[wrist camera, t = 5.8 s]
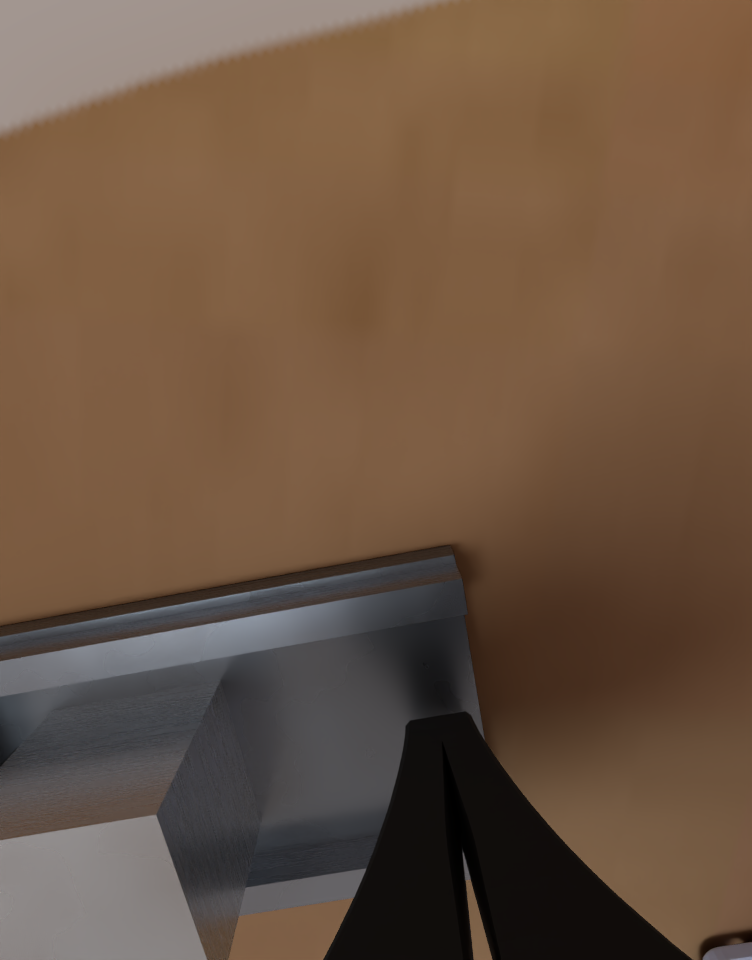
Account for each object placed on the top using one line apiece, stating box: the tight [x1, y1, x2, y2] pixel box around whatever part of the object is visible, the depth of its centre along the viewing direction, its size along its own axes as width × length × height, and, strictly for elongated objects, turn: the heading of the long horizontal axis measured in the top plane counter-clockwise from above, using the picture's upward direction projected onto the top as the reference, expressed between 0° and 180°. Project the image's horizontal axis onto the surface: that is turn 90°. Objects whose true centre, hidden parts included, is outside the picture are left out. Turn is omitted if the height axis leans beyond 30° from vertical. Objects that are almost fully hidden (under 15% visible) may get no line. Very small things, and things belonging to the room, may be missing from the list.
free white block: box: [0, 681, 262, 960], centre depth 10 cm, size 5×4×4 cm
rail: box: [0, 545, 485, 916], centre depth 11 cm, size 20×8×4 cm, turn 101°
